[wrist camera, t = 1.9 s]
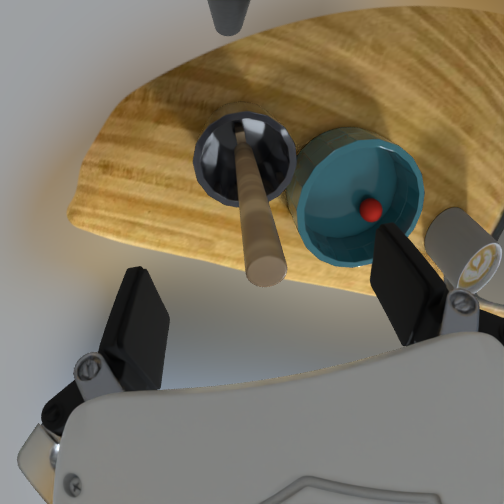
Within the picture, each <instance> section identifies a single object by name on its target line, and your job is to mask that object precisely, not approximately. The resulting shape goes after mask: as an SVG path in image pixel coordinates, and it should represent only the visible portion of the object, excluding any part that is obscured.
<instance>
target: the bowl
mask: <svg viewBox="0 0 504 504" xmlns="http://www.w3.org/2000/svg"><path fill="white" fill-rule="evenodd" d="M296 158H297V165H296V168H295V171H294V174H293V178H292V181H291V182H290V184H289V185H288V186H287V187H286V193H287V201H288V207H289V210H290V212H291V215H292V217H293V220H294V222H295V224H296V227H297V229H298V232H299V234H300V236H301V238H302V240H303V242H304V244H305V246H306V248H307V249H308V250H309V251H310V252H312V253H313V254H314V255H315V256H316V257H317V258H318V259H319V260H321V261H324V262H326V263H329V264H331V265H333V266H338V267H351V268H353V267H358V266H363V265H368V264H372V261H373V253H374V244H375V234H376V229H377V228H379V226H380V225H381V224H385V223H391V222H393V223H395V224H396V225H397V226H398V227H399V228H400V230H401V231H402V232H403V233H404V234H405V235H406V236H407V237H408V236H409V235H410V234H411V232H412V231H413V230H414V228H415V226H416V223H417V221H418V219H419V217H420V214H421V212H422V208H423V201H424V194H425V192H424V185H423V178H422V174H421V172H420V170H419V168H418V166H417V164H416V162H415V161H414V159H413V157H412V156H411V155H409V154H408V153H407V152H406V151H405V150H403V149H402V148H401V147H400V146H399V145H397V144H395V143H393V142H391V141H390V140H388V139H386V138H384V137H382V136H380V135H378V134H376V133H374V132H371V131H369V130H365V129H362V128H356V127H342V128H336V129H333V130H329V131H327V132H325V133H322V134H321V135H319V136H317V137H316V138H314V139H313V140H312V141H310V142H309V143H308V144H307V145H306V146H305V147H304V148H303V149H302V150H301V152H300V153H299V154H298V156H297V157H296ZM368 198H373V199H376V200H377V201H379V202H380V204H381V206H382V215H381V217H380V219H379V220H377V221H375V222H367V221H365V220H364V219H363V218H362V217H361V215H360V211H359V209H360V205H361V203H362V202H363V201H364V200H366V199H368Z"/></svg>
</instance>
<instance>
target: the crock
mask: <svg viewBox="0 0 504 504" xmlns="http://www.w3.org/2000/svg"><path fill="white" fill-rule="evenodd" d="M235 123H242V125H243V129H244V132H245V138H246V143H248V144H249V145H250V146H251V148H252V151H253V154H254V157H255V160H256V163H257V167H258V170H259V173H260V176H261V179H262V183H263V186H264V189H265V192H266V196H267V199H268V202H269V201H271V200H273V199H274V198H276V197H278V196H279V195H280V194H281V193H282V192H283V191H284V190H285V188H286V187H287V186H288V185H289V184H290V182H291V181H292V178H293V174H294V171H295V168H296V165H297V158H296V149H295V144H294V142H293V140H292V138H291V137H290V135H289V133H288V131H287V130H286V128H285V127H284V126H283V125H282V124H281V123H280V122H279V121H278V120H277V119H276V118H274V117H273V116H272V115H271V114H270V113H269V112H268V111H266V110H265V109H263V108H262V107H260V106H259V105H257V104H253V103H250V102H243V101H240V102H233V103H229V104H225V105H224V106H222V107H220V108H219V109H217V110H216V111H214V112H213V113H212V114H211V116H210V117H209V119H208V120H207V122H206V123H205V125H204V127H203V129H202V131H201V133H200V136H199V138H198V140H197V142H196V146H195V151H194V157H193V166H194V170H195V174H196V178H197V181H198V183H199V184H200V185H201V186H202V188H203V189H204V190H205V192H206V193H207V194H208V195H209V196H210V197H212V198H214V199H215V200H217V201H219V202H221V203H222V204H224V205H227V206H233V207H239V198H238V187H237V176H236V165H235V154H234V149H235V147H236V145H238V144H237V139H236V134H235V126H234V124H235Z"/></svg>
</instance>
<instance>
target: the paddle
mask: <svg viewBox="0 0 504 504" xmlns="http://www.w3.org/2000/svg"><path fill="white" fill-rule="evenodd" d="M234 126H235V134H236V139H237V144H238V145H236V147H235V149H234V154H235V165H236V176H237V187H238V198H239V208H240V219H241V230H242V240H243V251H244V261H245V271H246V276H247V278H248V280H249V281H250V282H251V283H252V284H254V285H256V286H259V287H270V286H273V285H276V284H278V283H279V282H281V281H282V280H283V279H284V277H285V276H286V273H287V264H286V260H285V257H284V253H283V250H282V246H281V243H280V239H279V236H278V233H277V229H276V226H275V222H274V219H273V216H272V212H271V209H270V206H269V202H268V199H267V196H266V192H265V189H264V186H263V183H262V179H261V176H260V173H259V170H258V167H257V163H256V160H255V157H254V154H253V151H252V148H251V146H250V145H249V144H248V143H246V138H245V132H244V129H243V125H242V123H235V124H234Z"/></svg>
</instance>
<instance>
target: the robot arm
mask: <svg viewBox="0 0 504 504" xmlns="http://www.w3.org/2000/svg"><path fill="white" fill-rule="evenodd" d="M370 283H371V286H372V288H373V290H374V292H375V294H376V296H377V298H378V299H379V301H380V303H381V305H382V307H383V309H384V311H385V312H386V314H387V316H388V318H389V320H390V322H391V324H392V326H393V328H394V330H395V332H396V334H397V336H398V338H399V340H400V342H401V344H402V345H403V346H406V347H403V348H400V349H396V350H393V351H389V352H386V353H383V354H379V355H376V356H372V357H369V358H365V359H361V360H357V361H354V362H349V363H346V364H342V365H337V366H333V367H328V368H324V369H319V370H315V371H310V372H305V373H300V374H295V375H289V376H285V377H278V378H272V379H266V380H259V381H252V382H245V383H237V384H229V385H220V386H211V387H210V386H209V387H199V388H185V389H171V390H170V389H168V390H157V389H160V388H161V381H162V373H163V365H164V358H165V350H166V343H167V336H168V330H169V323H170V318H169V314H168V312H167V310H166V308H165V306H164V304H163V302H162V300H161V298H160V296H159V294H158V292H157V290H156V288H155V286H154V283H153V281H152V279H151V277H150V275H149V273H148V271H147V270H146V269H143V268H142V267H141V266H139V267H133V268H128V269H127V271H126V273H125V276H124V278H123V281H122V283H121V286H120V289H119V291H118V294H117V296H116V299H115V302H114V305H113V308H112V310H111V313H110V316H109V319H108V322H107V324H106V327H105V331H104V334H103V337H102V340H101V343H100V346H99V351H98V353H97V352H91V353H87V354H85V355H84V356H82V357H81V358H80V359H79V360H78V361H77V363H76V365H75V368H74V373H73V374H74V378H75V380H74V381H73V382H71V383H70V384H69V385H68V386H67V387H65V388H64V389H63V390H62V391H60V392H59V393H58V394H57V395H56V396H54V397H53V398H52V399H51V400H50V401H48V403H46V405H45V406H44V408H43V410H42V414H41V420H42V424H41V425H40V424H39V423H38V424H37V426H36V427H35V429H34V430H33V432H32V433H31V434H30V436H29V437H28V439H27V441H26V442H25V444H24V445H23V446H22V448H21V450H20V451H19V453H18V457H17V462H18V466H19V468H20V470H21V471H22V473H23V474H24V475H25V477H26V478H27V479H28V481H29V482H30V483H31V485H32V486H33V487H34V488H35V490H36V491H37V492H38V493H39V495H40V496H41V497H42V498H43V499H44V501H45V502H46V503H47V504H504V318H502V317H499V316H497V315H494V314H491V313H489V312H486V311H483V310H481V309H479V308H480V307H479V302H478V300H477V298H476V297H475V295H474V294H472V293H471V292H470V291H468V290H465V289H461V288H456V289H453V290H451V291H449V290H448V289H447V287H446V284H445V283H444V282H443V280H442V279H441V278H440V276H439V275H438V274H437V273H436V271H435V270H434V269H433V267H432V266H431V265H430V264H429V262H428V261H427V260H426V259H425V258H424V256H423V255H422V254H421V253H420V252H419V250H418V249H417V248H416V247H415V246H414V244H413V243H412V242H411V241H410V240H409V239H408V237H407V236H406V235H405V234H404V233H403V232H402V231H401V230H400V228H399V227H398V226H397V225H396V224H395V223H393V222H391V223H385V224H381V225H380V226H379V228H377V229H376V234H375V244H374V253H373V261H372V268H371V276H370Z"/></svg>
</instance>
